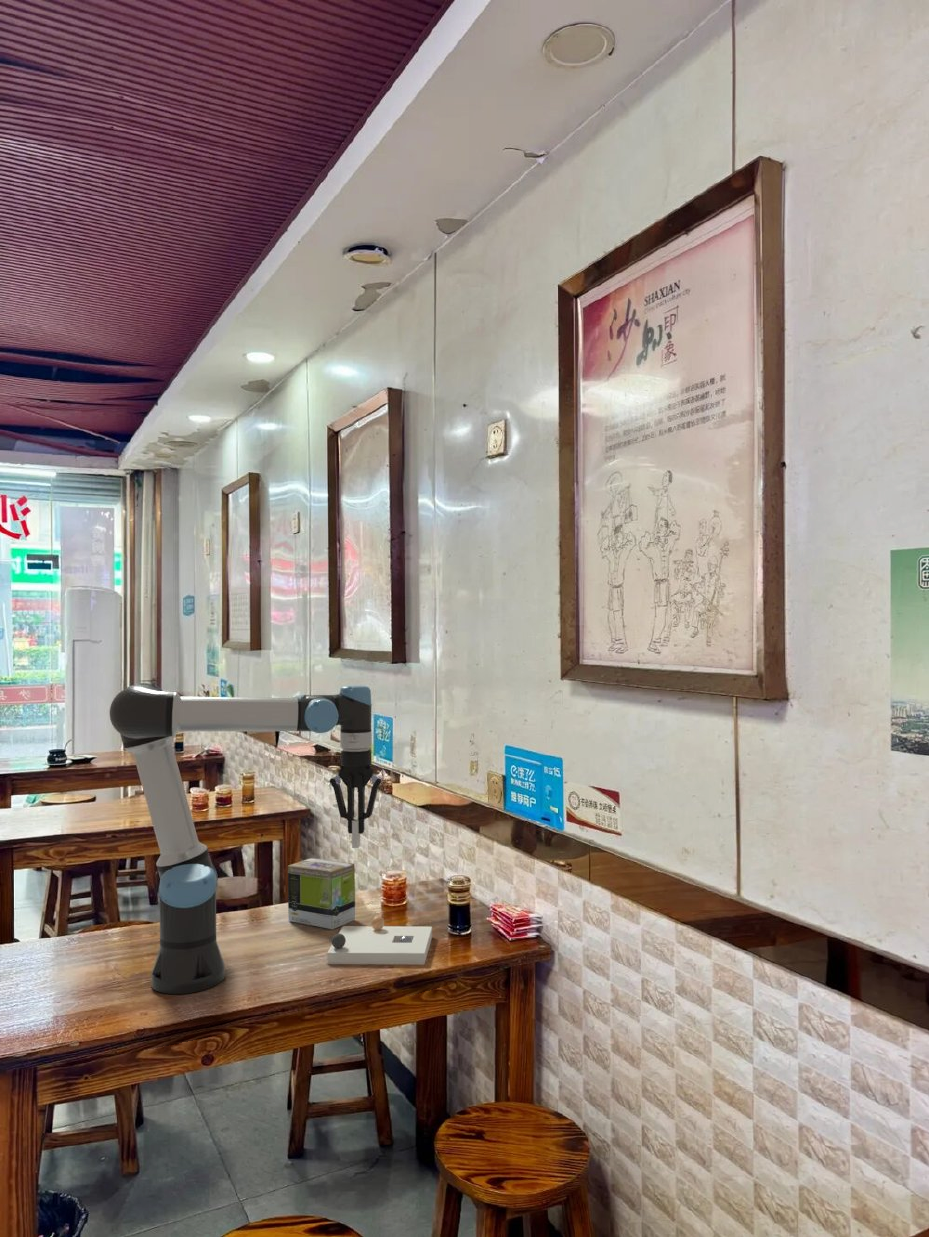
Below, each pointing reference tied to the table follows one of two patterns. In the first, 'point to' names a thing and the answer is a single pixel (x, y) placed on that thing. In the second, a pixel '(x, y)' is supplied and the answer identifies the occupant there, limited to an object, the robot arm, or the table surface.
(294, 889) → the tea box
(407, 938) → the steel ball
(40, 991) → the table surface
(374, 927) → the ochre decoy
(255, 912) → the table surface
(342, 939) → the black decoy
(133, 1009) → the table surface
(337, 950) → the platform
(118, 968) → the table surface
